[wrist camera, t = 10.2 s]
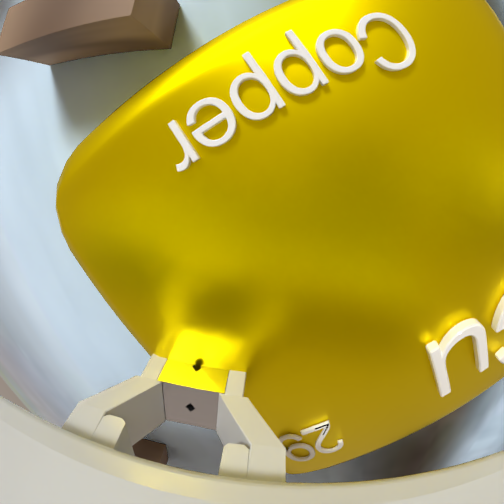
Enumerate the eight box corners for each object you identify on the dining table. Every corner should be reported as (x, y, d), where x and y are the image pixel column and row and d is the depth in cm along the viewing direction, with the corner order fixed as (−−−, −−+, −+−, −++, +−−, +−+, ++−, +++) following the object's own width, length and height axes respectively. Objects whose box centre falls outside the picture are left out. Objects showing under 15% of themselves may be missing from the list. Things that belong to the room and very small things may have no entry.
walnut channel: (179, 5, 8) (146, -38, 5) (168, 458, 17) (155, 498, 13) (58, 26, 8) (8, 8, 5) (91, 434, 17) (73, 468, 13)
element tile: (410, -2, 8) (464, -51, 3) (520, 285, 11) (573, 329, 7) (100, 175, 11) (20, 196, 7) (283, 418, 15) (283, 491, 10)
